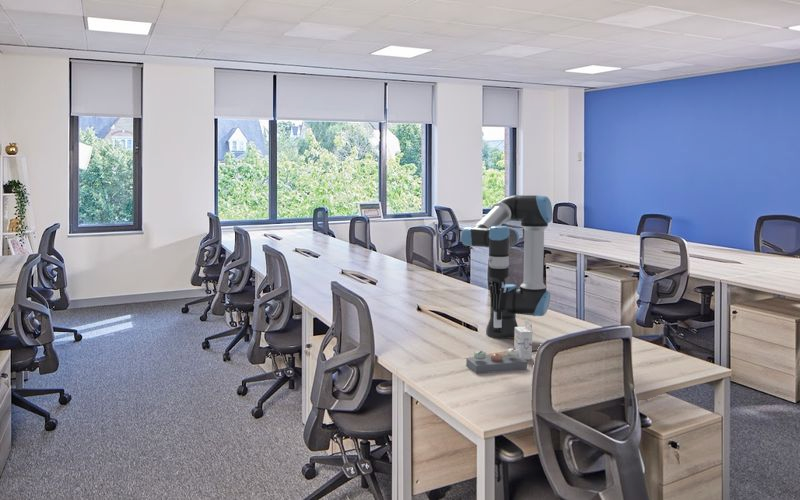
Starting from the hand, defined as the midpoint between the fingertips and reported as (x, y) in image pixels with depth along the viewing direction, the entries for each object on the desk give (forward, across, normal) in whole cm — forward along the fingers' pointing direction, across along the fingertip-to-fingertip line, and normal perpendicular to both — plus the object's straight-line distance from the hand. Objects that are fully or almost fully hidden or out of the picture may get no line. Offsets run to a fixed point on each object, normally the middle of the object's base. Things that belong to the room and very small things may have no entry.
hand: (497, 327), depth 244 cm
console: (+16, 0, 0) cm, 16 cm away
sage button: (+11, 0, -7) cm, 14 cm away
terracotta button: (+13, 0, 0) cm, 13 cm away
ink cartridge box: (+16, -10, +16) cm, 25 cm away
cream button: (+12, 0, +7) cm, 13 cm away
